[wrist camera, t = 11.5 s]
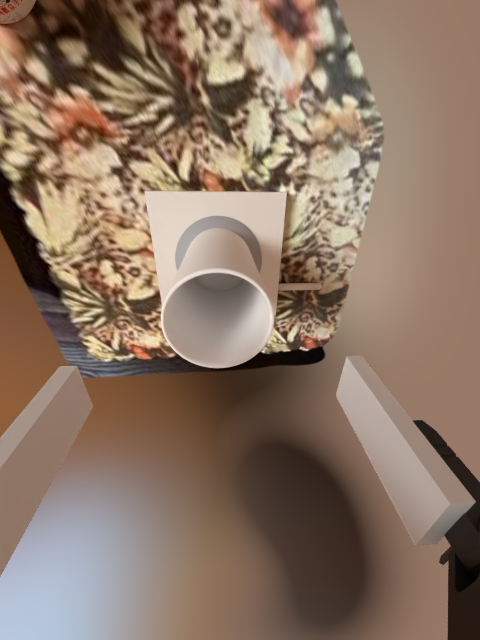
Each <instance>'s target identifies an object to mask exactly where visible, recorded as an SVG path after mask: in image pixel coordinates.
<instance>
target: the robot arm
mask: <svg viewBox="0 0 480 640" xmlns="http://www.w3.org/2000/svg"><path fill="white" fill-rule="evenodd" d="M336 397H337V399H338V401H339V402H340V404H341V406H342V408H343V410H344V412H345V414H346V416H347V418H348V419H349V421H350V423H351V425H352V427H353V429H354V431H355V432H356V435H357V436H358V438H359V440H360V442H361V444H362V446H363V448H364V450H365V452H366V454H367V455H368V457H369V459H370V461H371V463H372V465H373V467H374V469H375V471H376V472H377V474H378V476H379V478H380V480H381V482H382V484H383V486H384V487H385V490H386V491H387V493H388V495H389V497H390V499H391V501H392V503H393V504H394V507H395V508H396V510H397V512H398V514H399V516H400V518H401V520H402V522H403V524H404V525H405V527H406V529H407V531H408V533H409V535H410V537H411V538H412V541H413V542H414V544H415V546H419V545H430V544H437V543H438V542H439V541H440V540H441V539H442V538H443V537H444V536H445V537H446V539H447V540H448V542H449V543H450V545H451V547H450V548H449V549H448V550H447V551H446V552H445V553H444V554H443V555H442V556H441V558H440V561H439V563H441V564H443V565H444V564H445V563H446V562H447V561H448V560H449V570H448V572H449V573H448V640H480V482H479V481H478V480H477V479H476V478H475V476H474V475H473V474H472V473H471V472H470V470H469V469H468V468H467V467H466V466H465V465H464V464H463V462H462V461H461V460H460V459H459V458H458V457H456V454H455V453H454V452H453V450H452V449H451V448H450V447H449V446H447V443H446V442H445V441H444V440H443V439H442V437H441V436H440V435H439V434H438V433H437V432H436V431H435V430H434V429H433V428H432V427H430V426H429V425H428V424H426V423H425V422H423V421H422V420H416V421H412V420H411V418H410V417H409V416H408V415H407V413H406V412H405V411H404V410H403V408H402V407H401V406H400V405H399V403H398V402H397V401H396V399H395V398H394V397H393V395H392V394H391V393H390V392H389V390H388V389H387V388H386V387H385V385H384V384H383V383H382V381H381V380H380V379H379V378H378V376H377V375H376V374H375V373H374V371H373V370H372V369H371V368H370V366H369V365H368V364H367V362H366V361H365V360H364V359H363V357H362V356H347V357H346V361H345V365H344V368H343V372H342V375H341V379H340V383H339V386H338V390H337V393H336ZM92 408H93V405H92V403H91V401H90V398H89V395H88V393H87V390H86V388H85V386H84V383H83V380H82V378H81V375H80V373H79V370H78V368H77V366H63V367H62V366H61V367H59V368H58V369H57V371H56V372H55V373H54V374H53V375H52V377H51V378H50V379H49V380H48V381H47V383H46V384H45V385H44V386H43V387H42V389H41V390H40V391H39V392H38V394H37V395H36V396H35V397H34V398H33V399H32V401H31V402H30V403H29V404H28V405H27V407H26V408H25V409H24V410H23V411H22V413H21V414H20V415H19V416H18V417H17V418H16V420H15V421H14V422H13V423H12V424H11V426H10V427H9V428H8V430H6V432H5V433H4V434H3V435H2V437H1V438H0V576H1V574H2V572H3V571H4V569H5V567H6V565H7V563H8V561H9V560H10V557H11V556H12V554H13V552H14V550H15V549H16V547H17V545H18V543H19V541H20V539H21V538H22V536H23V534H24V532H25V530H26V528H27V527H28V525H29V523H30V521H31V519H32V517H33V516H34V514H35V512H36V510H37V508H38V507H39V505H40V503H41V501H42V499H43V497H44V496H45V494H46V492H47V490H48V488H49V486H50V484H51V483H52V481H53V479H54V477H55V475H56V473H57V472H58V470H59V468H60V466H61V464H62V462H63V461H64V459H65V457H66V455H67V453H68V451H69V450H70V448H71V446H72V444H73V442H74V441H75V439H76V437H77V435H78V433H79V431H80V430H81V428H82V426H83V424H84V422H85V420H86V419H87V417H88V415H89V413H90V411H91V409H92Z"/></svg>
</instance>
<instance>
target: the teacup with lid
mask: <svg viewBox="0 0 480 640" xmlns="http://www.w3.org/2000/svg"><path fill="white" fill-rule="evenodd" d="M35 2H36V0H0V23H1V24H9V23H14V22H17V21H20V20H21V19H23V18H24V17H26V16H27V15H28V14H29V12H30V11H31V10H32V8H33V6H34V4H35Z"/></svg>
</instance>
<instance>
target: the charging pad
mask: <svg viewBox="0 0 480 640" xmlns="http://www.w3.org/2000/svg"><path fill="white" fill-rule="evenodd" d="M286 196H287V192H238V191H145V197H146V203H147V210H148V216H149V223H150V230H151V236H152V243H153V249H154V256H155V262H156V269H157V275H158V282H159V288H160V295H161V301H162V307H163V303H164V301H165V298H166V296H167V294H168V291H169V289H170V287H171V285H172V283H173V280H174V278H175V276H176V274H177V272H178V269H179V267H180V265H181V263H182V261H183V259H184V256H185V254H186V252H187V250H188V248H189V246H190V244H191V242H192V241H193V239H194V238H195V237H196V236H197V235H199V234H200V233H202V232H203V231H206V230H208V229H212V228H224V229H228V230H231V231H233V232H235V233H236V234H238V235H239V236H240V237H241V238H242V239H243V240H244V241H245V242H246V244H247V246H248V248H249V250H250V253H251V255H252V257H253V260H254V262H255V265H256V267H257V269H258V272H259V274H260V277H261V279H262V281H263V284H264V286H265V289H266V291H267V293H268V296H269V298H270V301H271V304H272V307H273V313H274V315H276V308H277V297H278V291H285V290H320V289H321V288H322V285H321V284H320V283H279V274H280V263H281V252H282V241H283V230H284V219H285V207H286Z"/></svg>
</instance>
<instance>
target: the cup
mask: <svg viewBox="0 0 480 640" xmlns="http://www.w3.org/2000/svg"><path fill="white" fill-rule="evenodd" d="M161 325H162V330H163V333H164V336H165V338H166V340H167V342H168V343H169V345H170V346H171V347H172V348H173V350H174V351H175V352H176V353H178V354H179V355H180V356H181V357H183V358H184V359H186V360H188V361H190V362H192V363H194V364H197V365H200V366H204V367H210V368H226V367H231V366H235V365H239V364H241V363H244V362H246V361H248V360H249V359H251V358H253V357H254V356H255V355H257V354H258V353H259V352H260V351H261V350H262V349H263V347H264V346H265V345H266V343H267V342H268V340H269V338H270V336H271V333H272V330H273V325H274V313H273V307H272V304H271V301H270V298H269V296H268V293H267V291H266V289H265V286H264V284H263V281H262V279H261V277H260V274H259V272H258V269H257V267H256V265H255V262H254V260H253V257H252V255H251V253H250V250H249V248H248V246H247V244H246V242H245V241H244V240H243V239H242V238H241V237H240V236H239V235H238V234H236V233H235V232H233V231H231V230H228V229H224V228H212V229H208V230H206V231H203V232H202V233H200V234H199V235H197V236H196V237H195V238H194V239H193V241H192V242H191V244H190V246H189V248H188V250H187V252H186V254H185V256H184V259H183V261H182V263H181V265H180V267H179V269H178V272H177V274H176V276H175V278H174V280H173V283H172V285H171V287H170V289H169V291H168V294H167V296H166V298H165V301H164V303H163V307H162V313H161Z"/></svg>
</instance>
